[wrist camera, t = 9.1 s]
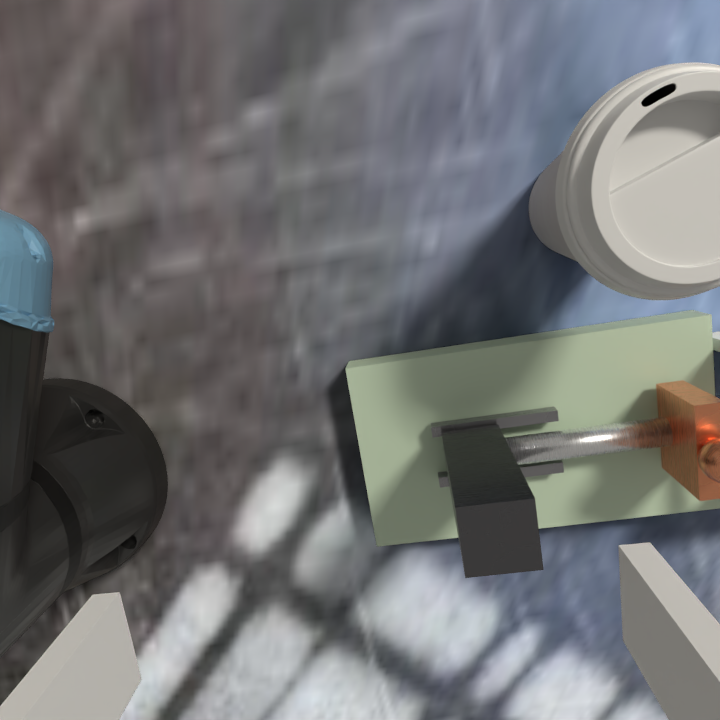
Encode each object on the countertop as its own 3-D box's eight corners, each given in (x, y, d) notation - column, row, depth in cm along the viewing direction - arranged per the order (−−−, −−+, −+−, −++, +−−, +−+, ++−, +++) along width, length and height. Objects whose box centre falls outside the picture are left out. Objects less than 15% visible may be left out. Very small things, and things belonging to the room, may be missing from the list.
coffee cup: (656, 116, 35) (836, 26, 20) (658, 271, 37) (824, 291, 22) (499, 137, 36) (563, 66, 21) (509, 287, 38) (574, 317, 23)
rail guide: (439, 481, 38) (440, 487, 37) (430, 423, 37) (431, 427, 36) (560, 467, 37) (564, 472, 36) (554, 406, 36) (557, 410, 36)
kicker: (450, 492, 38) (468, 596, 27) (438, 413, 37) (452, 487, 26) (694, 463, 36) (821, 561, 25) (689, 379, 35) (819, 442, 24)
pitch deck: (378, 529, 42) (376, 546, 40) (348, 361, 40) (345, 368, 37) (701, 492, 40) (720, 508, 37) (692, 310, 37) (711, 314, 35)
